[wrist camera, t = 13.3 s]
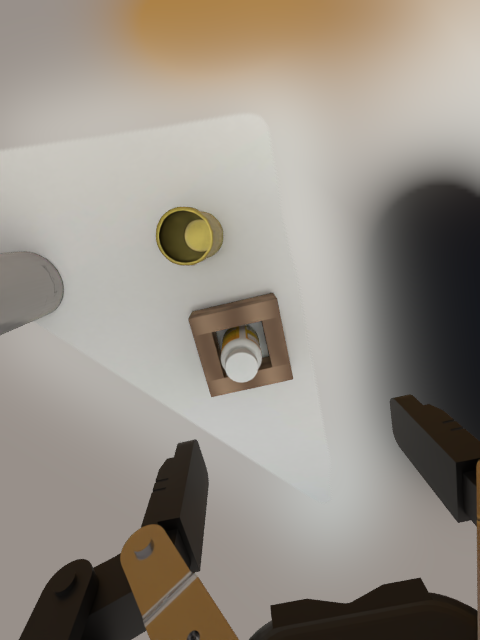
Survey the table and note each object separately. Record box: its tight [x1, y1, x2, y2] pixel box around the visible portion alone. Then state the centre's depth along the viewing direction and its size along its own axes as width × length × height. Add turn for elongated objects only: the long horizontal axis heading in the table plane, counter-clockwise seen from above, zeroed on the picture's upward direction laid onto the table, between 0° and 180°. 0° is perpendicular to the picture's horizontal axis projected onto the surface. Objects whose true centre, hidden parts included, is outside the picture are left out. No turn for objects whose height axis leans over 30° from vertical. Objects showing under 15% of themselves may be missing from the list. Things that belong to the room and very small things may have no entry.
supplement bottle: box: [221, 325, 262, 383], centre depth 41 cm, size 5×5×10 cm
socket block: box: [188, 293, 293, 397], centre depth 43 cm, size 12×12×4 cm
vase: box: [156, 207, 223, 265], centre depth 34 cm, size 6×6×14 cm
